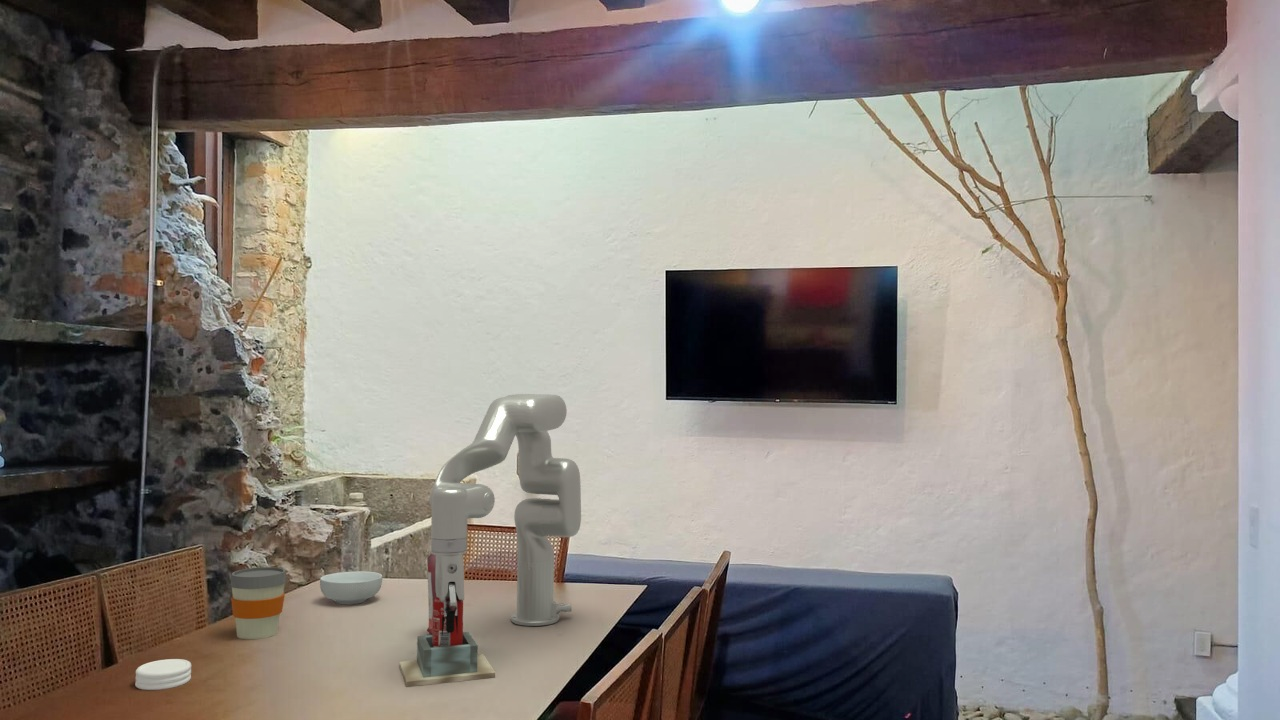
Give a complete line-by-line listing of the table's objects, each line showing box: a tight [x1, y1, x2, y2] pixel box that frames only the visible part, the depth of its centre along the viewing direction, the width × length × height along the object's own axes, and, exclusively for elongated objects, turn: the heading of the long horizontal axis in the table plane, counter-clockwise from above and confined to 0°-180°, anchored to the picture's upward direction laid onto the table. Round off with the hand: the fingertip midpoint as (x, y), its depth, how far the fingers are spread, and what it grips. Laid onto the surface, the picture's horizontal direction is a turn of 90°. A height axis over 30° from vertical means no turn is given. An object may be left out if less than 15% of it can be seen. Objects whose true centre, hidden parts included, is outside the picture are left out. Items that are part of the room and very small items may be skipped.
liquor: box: [426, 553, 437, 635], centre depth 215 cm, size 7×7×28 cm
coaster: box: [134, 658, 192, 691], centre depth 179 cm, size 10×10×4 cm
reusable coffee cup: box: [230, 566, 287, 640], centre depth 214 cm, size 13×13×15 cm
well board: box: [399, 631, 496, 688], centre depth 187 cm, size 18×14×6 cm
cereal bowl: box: [319, 570, 383, 605], centre depth 248 cm, size 17×17×7 cm
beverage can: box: [432, 595, 464, 648], centre depth 187 cm, size 6×6×12 cm
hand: (447, 630), depth 187 cm, fingers closed on beverage can, 5 cm apart
